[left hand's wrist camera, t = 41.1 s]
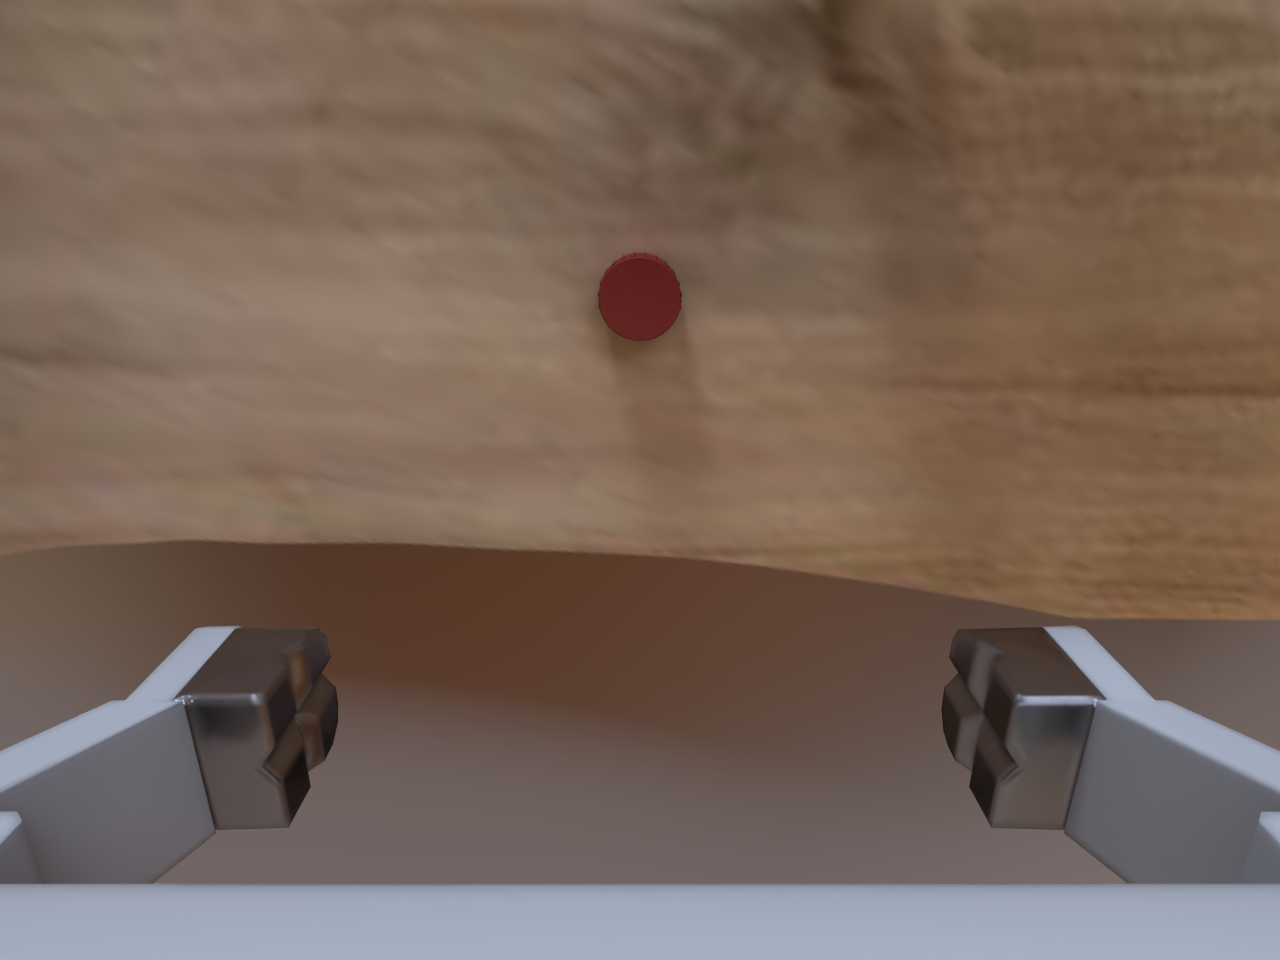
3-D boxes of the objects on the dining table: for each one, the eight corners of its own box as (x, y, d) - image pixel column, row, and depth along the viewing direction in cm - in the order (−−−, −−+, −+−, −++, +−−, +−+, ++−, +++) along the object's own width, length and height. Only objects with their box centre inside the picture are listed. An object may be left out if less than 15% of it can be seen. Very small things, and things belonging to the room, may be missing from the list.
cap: (652, 348, 43) (652, 357, 41) (584, 306, 42) (581, 313, 40) (695, 280, 41) (698, 286, 39) (626, 235, 40) (625, 239, 38)
